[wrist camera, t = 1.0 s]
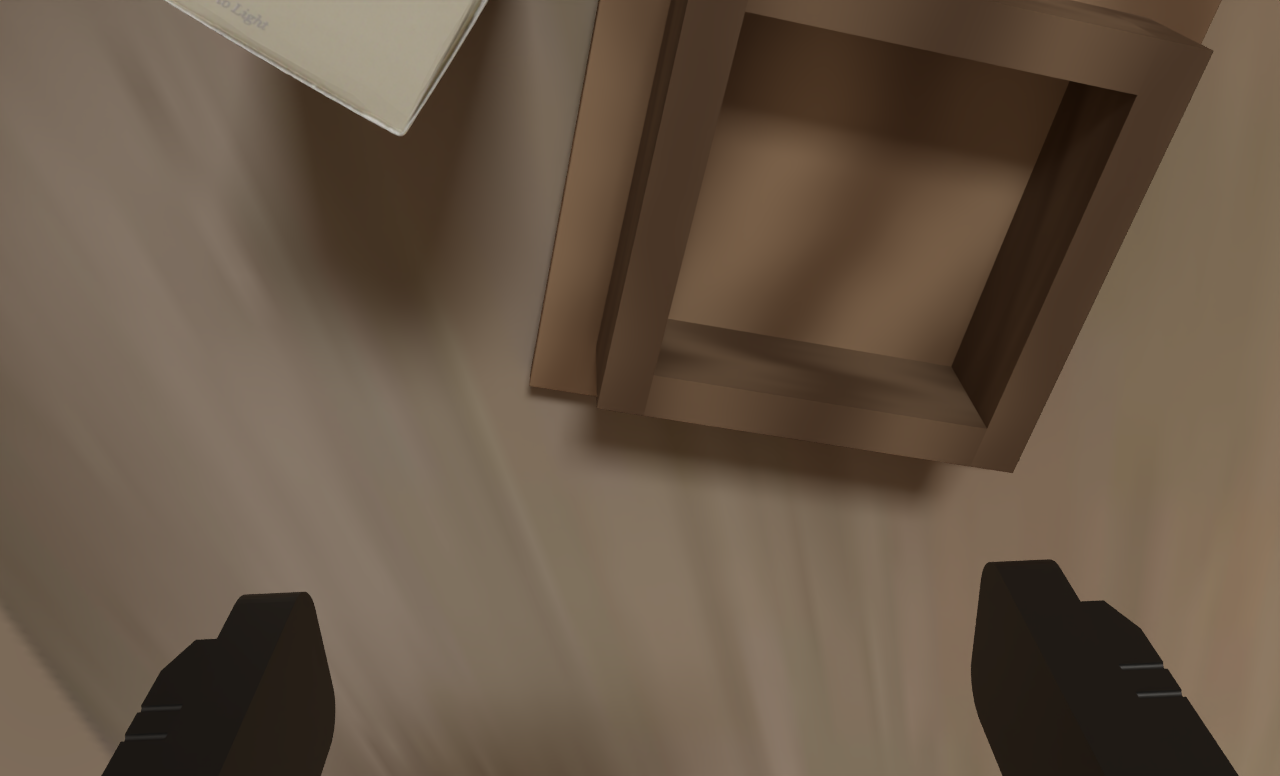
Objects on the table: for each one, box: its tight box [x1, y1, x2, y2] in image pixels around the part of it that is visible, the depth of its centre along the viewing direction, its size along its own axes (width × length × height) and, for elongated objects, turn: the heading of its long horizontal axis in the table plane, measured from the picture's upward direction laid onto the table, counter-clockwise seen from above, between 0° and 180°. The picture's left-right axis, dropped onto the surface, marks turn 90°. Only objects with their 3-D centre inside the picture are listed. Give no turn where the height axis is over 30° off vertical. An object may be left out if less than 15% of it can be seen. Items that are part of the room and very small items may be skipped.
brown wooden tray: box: [530, 0, 1222, 473], centre depth 33 cm, size 18×18×5 cm
